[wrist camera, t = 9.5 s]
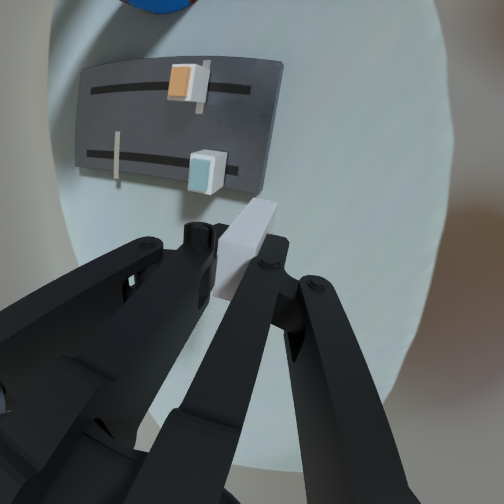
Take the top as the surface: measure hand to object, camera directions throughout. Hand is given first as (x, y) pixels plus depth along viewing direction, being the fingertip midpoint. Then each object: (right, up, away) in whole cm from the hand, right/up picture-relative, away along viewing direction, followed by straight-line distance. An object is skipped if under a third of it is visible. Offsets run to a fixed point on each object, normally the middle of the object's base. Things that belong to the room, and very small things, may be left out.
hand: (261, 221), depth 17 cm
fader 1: (-6, +15, +7) cm, 18 cm away
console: (-11, +14, +11) cm, 21 cm away
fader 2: (-4, +7, +11) cm, 14 cm away
